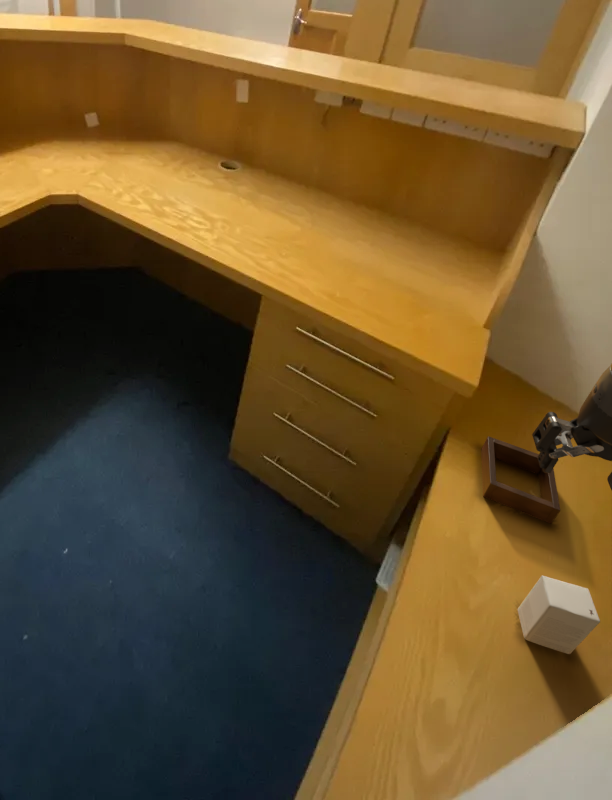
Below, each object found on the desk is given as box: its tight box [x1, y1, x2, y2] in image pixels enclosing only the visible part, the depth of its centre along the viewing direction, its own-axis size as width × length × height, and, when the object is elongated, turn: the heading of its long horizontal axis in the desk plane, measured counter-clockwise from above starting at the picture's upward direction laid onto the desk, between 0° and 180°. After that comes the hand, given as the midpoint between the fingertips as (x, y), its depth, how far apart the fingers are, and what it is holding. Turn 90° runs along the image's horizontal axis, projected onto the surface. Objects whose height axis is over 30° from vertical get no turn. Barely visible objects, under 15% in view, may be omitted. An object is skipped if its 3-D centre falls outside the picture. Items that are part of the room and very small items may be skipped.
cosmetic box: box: [517, 575, 601, 655], centre depth 74 cm, size 6×4×12 cm
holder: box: [480, 435, 561, 524], centre depth 95 cm, size 11×11×6 cm
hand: (577, 476), depth 74 cm, fingers open, 8 cm apart
